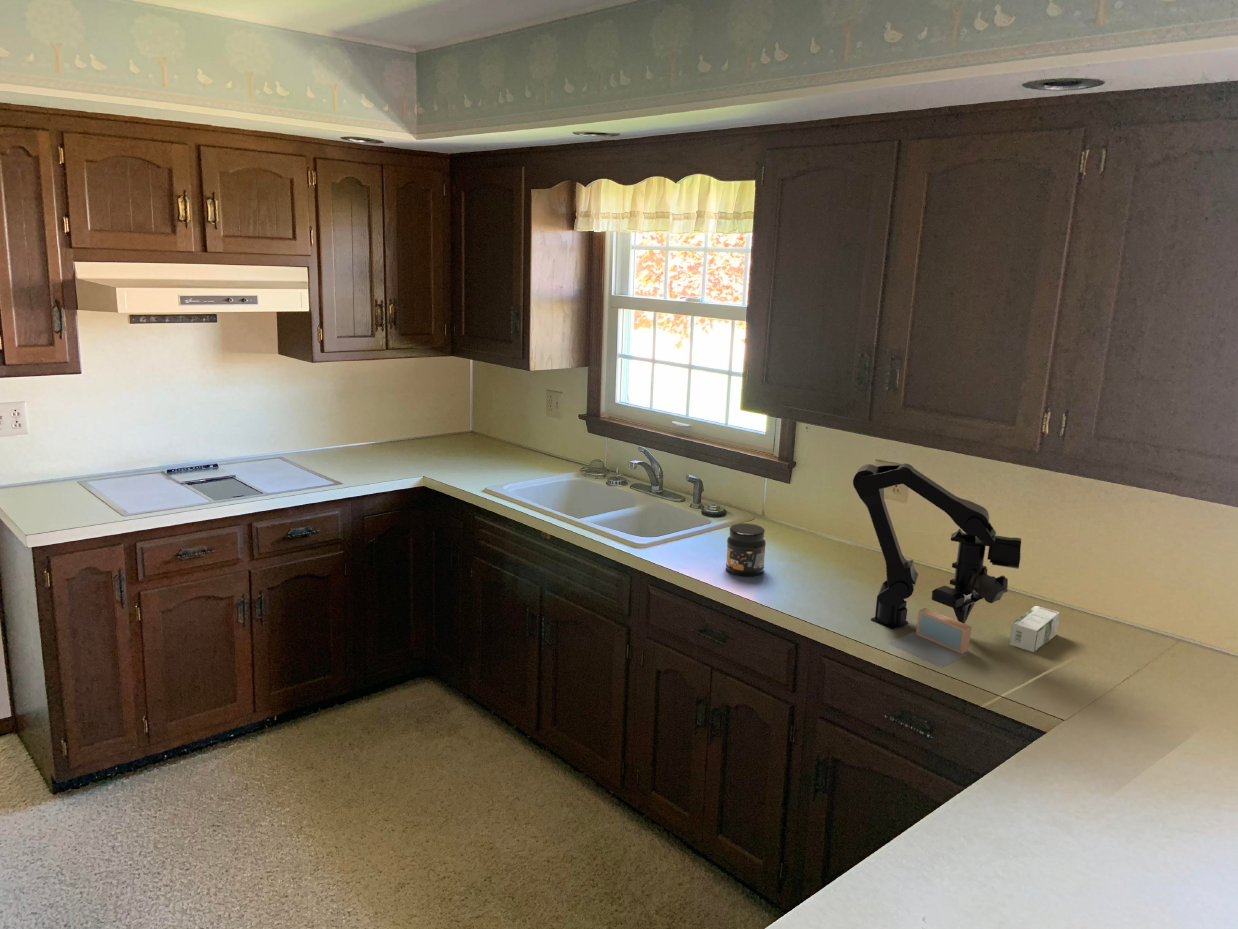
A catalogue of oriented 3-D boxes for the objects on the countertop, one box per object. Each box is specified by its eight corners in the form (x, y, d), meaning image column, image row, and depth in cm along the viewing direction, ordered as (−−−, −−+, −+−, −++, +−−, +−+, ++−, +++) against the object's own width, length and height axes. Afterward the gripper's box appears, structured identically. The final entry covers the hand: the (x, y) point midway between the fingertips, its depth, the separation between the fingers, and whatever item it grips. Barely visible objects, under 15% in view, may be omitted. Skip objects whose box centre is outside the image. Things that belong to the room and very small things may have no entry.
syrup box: (1008, 645, 207) (1031, 626, 217) (1035, 654, 203) (1057, 634, 213) (1011, 622, 205) (1034, 604, 216) (1038, 630, 201) (1060, 611, 212)
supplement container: (717, 567, 249) (719, 526, 246) (746, 560, 255) (749, 520, 252) (742, 580, 241) (745, 537, 238) (772, 572, 247) (775, 531, 243)
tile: (915, 634, 210) (918, 610, 209) (922, 631, 212) (925, 607, 210) (961, 654, 201) (964, 629, 200) (968, 651, 203) (971, 626, 201)
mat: (887, 644, 206) (887, 642, 206) (919, 631, 213) (919, 629, 213) (941, 668, 195) (941, 667, 195) (972, 654, 202) (972, 652, 202)
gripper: (978, 581, 195) (969, 647, 199) (1025, 563, 206) (1015, 626, 210) (933, 565, 203) (926, 628, 207) (980, 548, 214) (972, 609, 218)
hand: (961, 623), depth 210 cm, fingers closed
